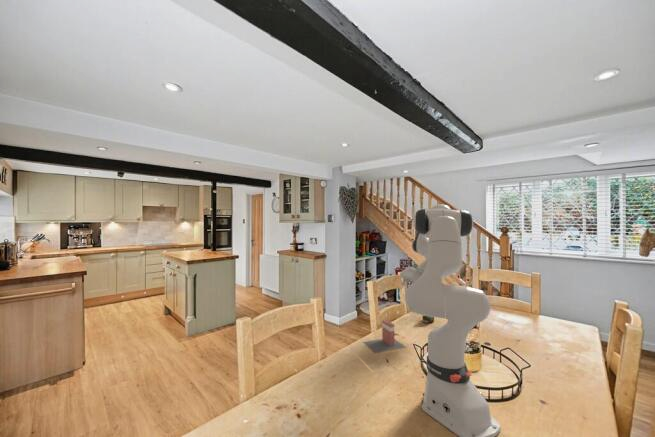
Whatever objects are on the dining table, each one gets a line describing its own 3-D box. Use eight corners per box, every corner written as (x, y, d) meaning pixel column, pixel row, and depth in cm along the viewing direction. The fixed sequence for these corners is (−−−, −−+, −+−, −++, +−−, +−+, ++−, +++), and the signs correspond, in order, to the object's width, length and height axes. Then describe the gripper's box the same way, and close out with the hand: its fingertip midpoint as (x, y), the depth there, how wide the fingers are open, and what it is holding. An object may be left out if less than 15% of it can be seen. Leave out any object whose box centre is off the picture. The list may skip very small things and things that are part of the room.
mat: (406, 347, 127) (406, 347, 127) (375, 353, 121) (375, 352, 121) (392, 338, 138) (392, 337, 138) (363, 342, 132) (363, 342, 132)
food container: (432, 326, 155) (432, 308, 155) (422, 323, 158) (421, 306, 159) (438, 320, 164) (438, 303, 165) (428, 318, 168) (428, 302, 168)
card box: (394, 345, 128) (394, 324, 129) (390, 346, 128) (390, 325, 128) (386, 339, 135) (386, 319, 135) (382, 340, 134) (382, 320, 135)
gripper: (408, 261, 151) (392, 277, 146) (440, 273, 134) (423, 292, 129) (411, 269, 153) (395, 285, 148) (442, 282, 137) (426, 300, 132)
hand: (409, 288), depth 138 cm, fingers open, 8 cm apart
